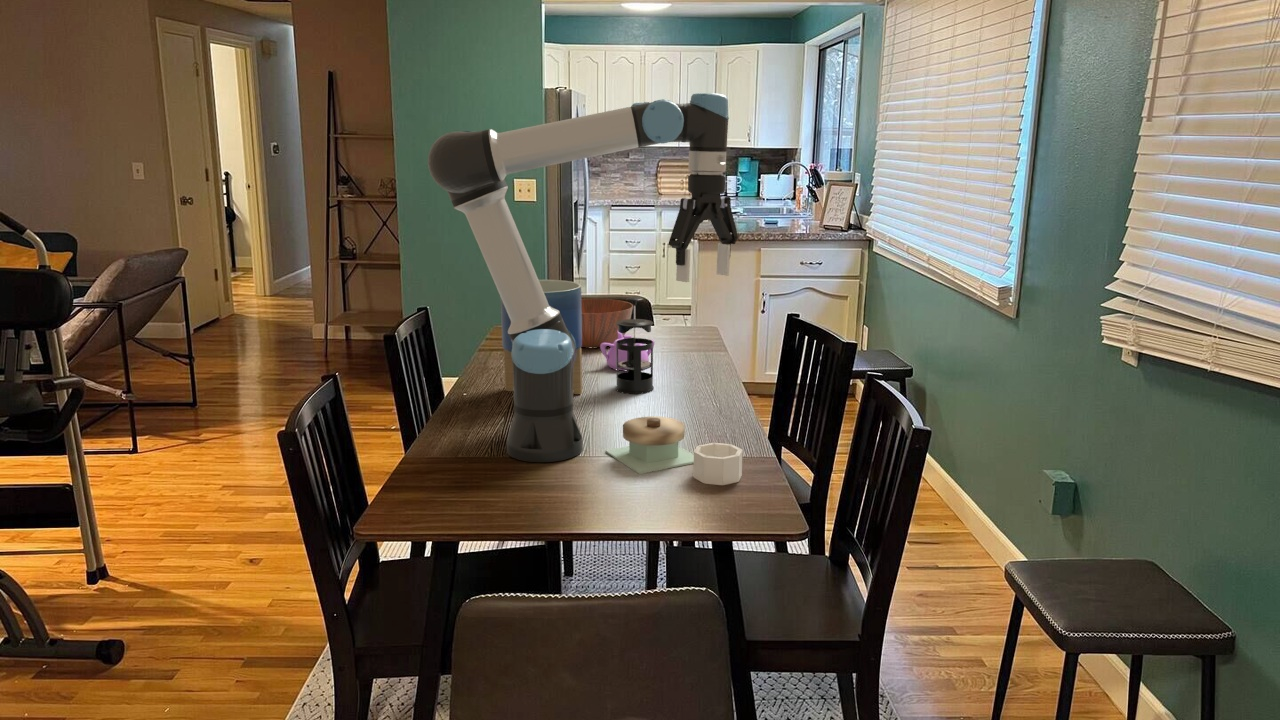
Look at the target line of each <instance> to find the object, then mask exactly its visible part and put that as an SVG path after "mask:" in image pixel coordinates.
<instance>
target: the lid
mask: <svg viewBox="0 0 1280 720" xmlns="http://www.w3.org/2000/svg"><path fill="white" fill-rule="evenodd" d="M685 432H686V431H685V424H684V422H682V421H680V420H678V419H675V418H671V417H667V416H665V417H664V416H641V417H635V418H632V419H629V420H626V421H625V422H624V423H623V424H622V437H623V439H625V441H627V442H628V443H629V442H631V443H635V444H640V445H651V446H658V445H668V444H673V443H676V442H678V443H680V442H681V441H682V440H683V439H684V438H685Z"/></svg>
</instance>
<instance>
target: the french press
mask: <svg viewBox="0 0 1280 720" xmlns="http://www.w3.org/2000/svg"><path fill="white" fill-rule="evenodd" d="M625 300H626V301H627V302H628V301H629V302H632V305H633V318H631V319H625V320H620V321H617V322H616V324H617V325H618V332H620V333H625V334H626V333H627V332H628V331H630V330H632V329H633V337H632V338H627V339H621V340H618V341H617V342H616V362H617V370H616V386H615V391H617V390H618V391H619V393H621V392H623V393H622V394H626V393H629V394H628V395H641V393H643V394H648V393H651V392H652V390H653V391H654V386H653V385H654V383H653V382H654V375H653V374H654V361H653V360H654V359H653V357H654V347H653V341H651V340H652V339H648V338H640V337H636V328H637V329H642V330H644V331H645V332H647V333H651V332H652V325H653V324H654V322H653V321H652V320H649V319H643V318H642V319H641V318H636V306H637V302H639V301H643V300H644V298H643V297H638V296H631V297H627V298H625ZM635 343H640V344H643V345H641V346H635ZM622 344H627V345H622ZM618 349H620V350H624V351H627V361H622V362H619V363H618ZM649 349H651V353H650V361H649V362H648V361H643V360H641V351H645V350H646V351H648V350H649ZM618 367H619V368H621V369H625V370H627V371H623V372H620V373H619V371H618ZM647 369H650V373H648V372H643V371H645V370H647ZM618 391H617V392H618ZM650 391H651V392H650ZM647 392H648V393H647Z"/></svg>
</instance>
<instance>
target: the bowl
mask: <svg viewBox="0 0 1280 720" xmlns="http://www.w3.org/2000/svg"><path fill="white" fill-rule="evenodd" d="M581 307H582V346H581V347H600V345H601V343H610V344H613V343H614V342H615V340H617V339H618V332H617V331H618V325H617V324H616V322H617V321H620V320H625V319H632V314H633V310H634V306H633V303H631V302H630V301H629V302H628V301H624V300H618V299H610V298H581ZM622 335H623V336H624V335H626V333H622Z"/></svg>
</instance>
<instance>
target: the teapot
mask: <svg viewBox="0 0 1280 720" xmlns="http://www.w3.org/2000/svg"><path fill="white" fill-rule="evenodd" d="M617 332H618V331H617ZM627 338H633V337H632V335H630V334H625V335H624V336H623V335H622V333H620V332H618V339H617V340H615V342H614V343H613V344H610V343H601V345H600V348H599V349H600V350H601V353H602V354H603V356H604V357H605V359H606V364H607V366H608V367H609V368H610V367H611V368H613V369H617V362H616V342H617V341H618V340H621V339H627ZM650 340H651V341H653V348H654V347H655V341H654V340H653V339H650ZM622 345H627V344H622ZM641 345H644V344H640V343H635V346H641ZM606 346H609V347H610V348H609V350H608V351H607V347H606ZM649 356H651V349H649V350H645V351H641V360H643V361H648V362H650V358H649ZM622 361H627V351H624V350H620V349H618V363H619V362H622ZM611 368H610V369H611ZM613 369H612V370H613ZM618 370H625V369H621V368H619V367H618Z"/></svg>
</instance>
